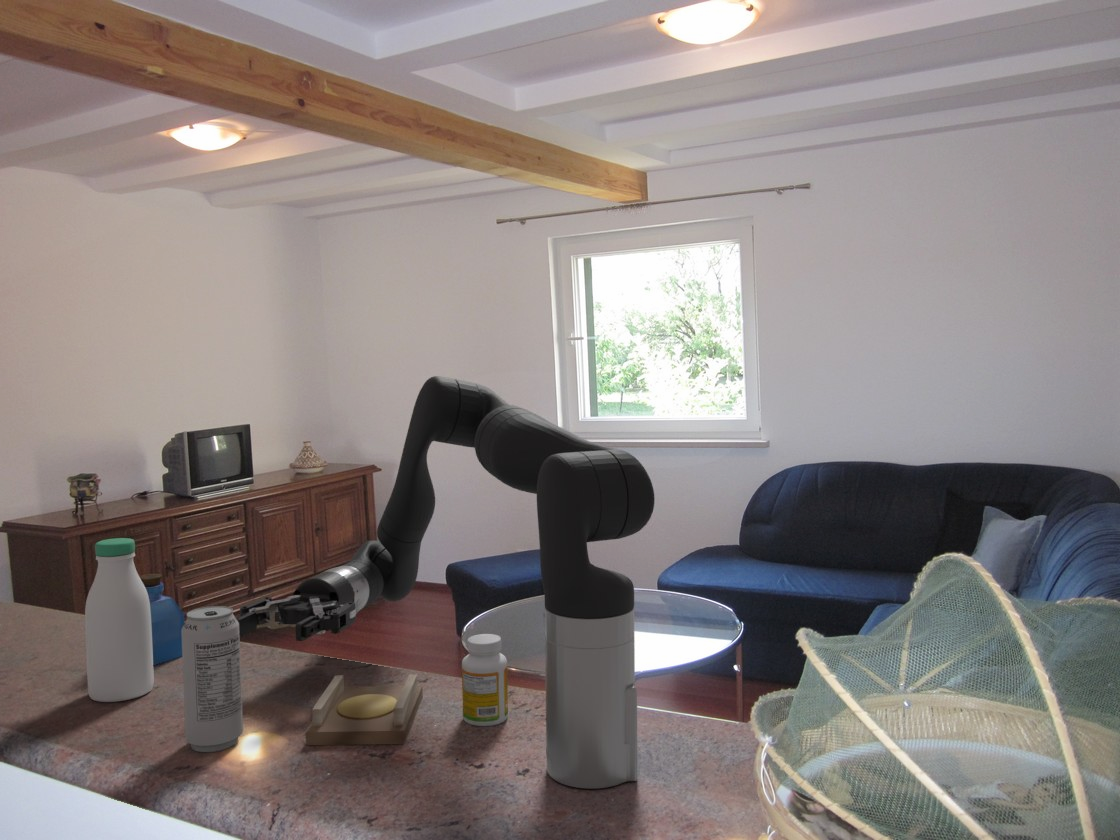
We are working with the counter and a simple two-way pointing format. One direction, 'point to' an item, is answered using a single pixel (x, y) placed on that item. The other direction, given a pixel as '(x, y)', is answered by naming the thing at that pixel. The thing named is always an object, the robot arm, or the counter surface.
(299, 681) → the counter surface
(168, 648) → the perfume bottle
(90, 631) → the milk bottle
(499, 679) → the supplement bottle
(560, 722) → the robot arm
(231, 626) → the energy drink can
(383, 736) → the stand
